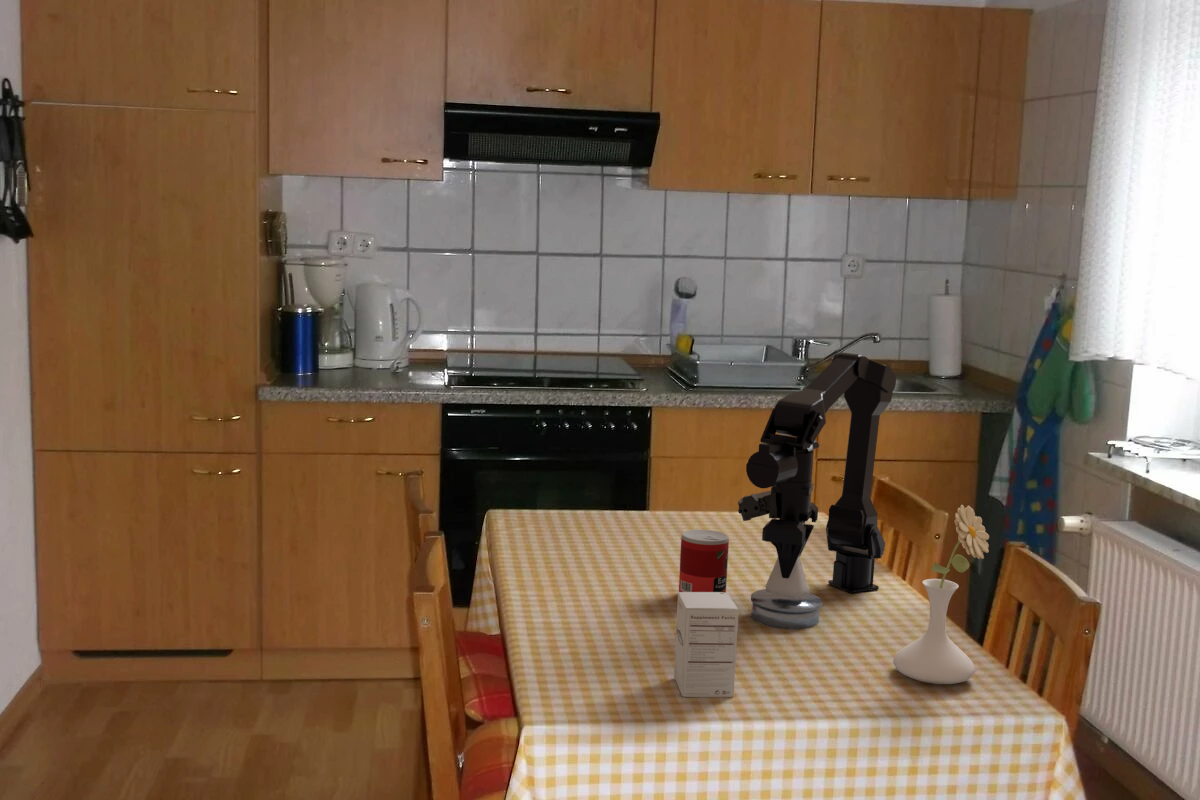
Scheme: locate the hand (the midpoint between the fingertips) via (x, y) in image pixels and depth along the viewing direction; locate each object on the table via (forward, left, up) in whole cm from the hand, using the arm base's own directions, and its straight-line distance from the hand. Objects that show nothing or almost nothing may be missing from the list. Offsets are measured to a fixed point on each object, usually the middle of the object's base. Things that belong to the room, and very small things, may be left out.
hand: (788, 573), depth 209 cm
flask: (0, 0, -3) cm, 3 cm away
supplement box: (+29, +21, -8) cm, 37 cm away
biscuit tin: (0, 0, -8) cm, 8 cm away
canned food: (+7, -14, -8) cm, 17 cm away
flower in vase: (-5, +30, -8) cm, 31 cm away
